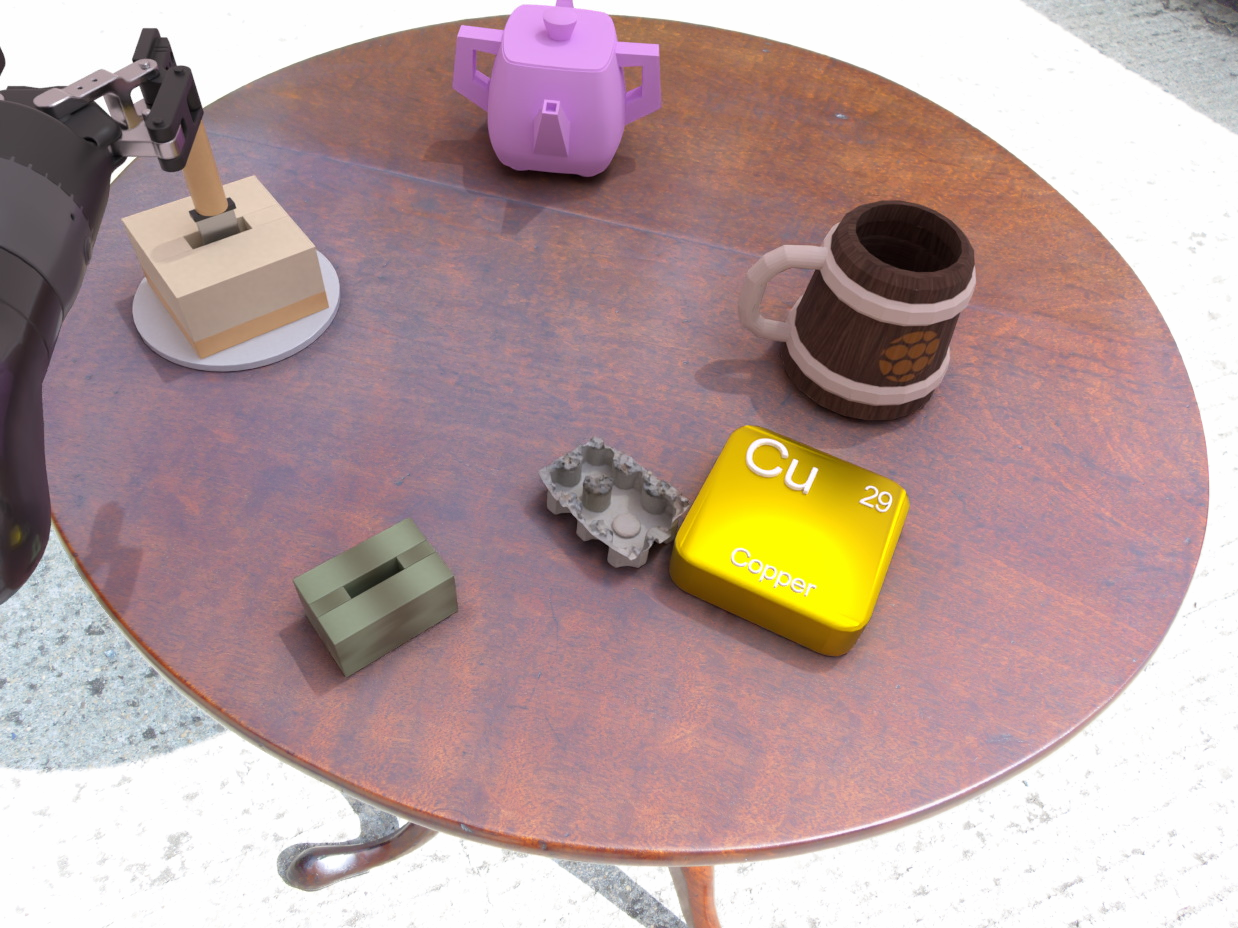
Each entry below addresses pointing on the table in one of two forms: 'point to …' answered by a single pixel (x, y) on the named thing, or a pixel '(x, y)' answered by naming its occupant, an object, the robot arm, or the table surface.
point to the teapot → (556, 87)
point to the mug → (870, 308)
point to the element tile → (790, 539)
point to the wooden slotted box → (229, 269)
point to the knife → (208, 193)
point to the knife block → (377, 595)
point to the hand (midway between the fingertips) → (74, 43)
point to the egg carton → (613, 500)
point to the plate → (247, 355)
